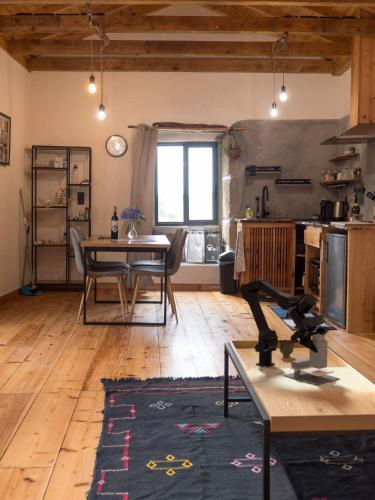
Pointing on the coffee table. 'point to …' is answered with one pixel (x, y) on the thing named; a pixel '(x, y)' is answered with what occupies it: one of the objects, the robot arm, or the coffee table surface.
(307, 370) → the trapdoor flap
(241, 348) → the coffee table surface
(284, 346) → the cup
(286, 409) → the coffee table surface
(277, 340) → the robot arm
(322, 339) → the stone pillar
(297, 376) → the stand
